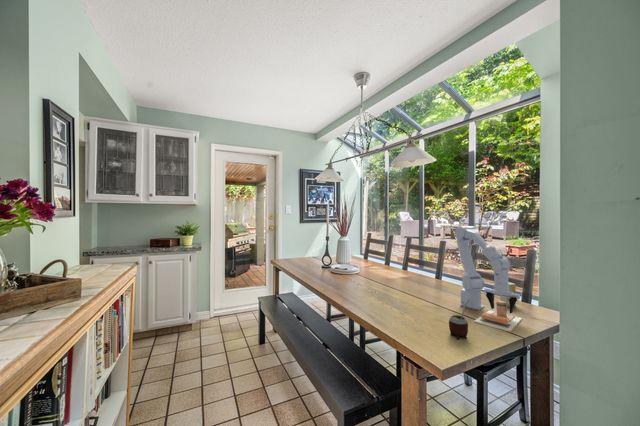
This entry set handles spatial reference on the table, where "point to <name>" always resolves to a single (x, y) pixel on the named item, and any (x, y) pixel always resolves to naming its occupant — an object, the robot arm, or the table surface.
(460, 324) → the mate gourd
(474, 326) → the table surface
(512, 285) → the skincare box
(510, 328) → the picture board
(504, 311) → the cylinder
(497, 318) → the button
